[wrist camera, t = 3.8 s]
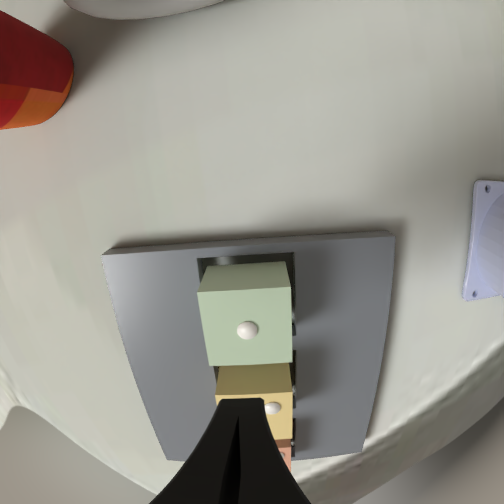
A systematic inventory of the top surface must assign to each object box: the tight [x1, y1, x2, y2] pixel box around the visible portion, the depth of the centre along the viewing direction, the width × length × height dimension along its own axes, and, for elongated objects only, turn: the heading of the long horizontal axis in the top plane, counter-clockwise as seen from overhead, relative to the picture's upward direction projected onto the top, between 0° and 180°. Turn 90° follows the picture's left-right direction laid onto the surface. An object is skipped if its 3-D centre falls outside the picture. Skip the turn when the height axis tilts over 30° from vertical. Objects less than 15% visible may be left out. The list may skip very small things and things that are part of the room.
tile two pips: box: [215, 362, 293, 440], centre depth 18 cm, size 4×4×3 cm
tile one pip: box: [197, 261, 292, 366], centre depth 16 cm, size 4×4×3 cm
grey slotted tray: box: [101, 231, 396, 461], centre depth 20 cm, size 16×18×1 cm
